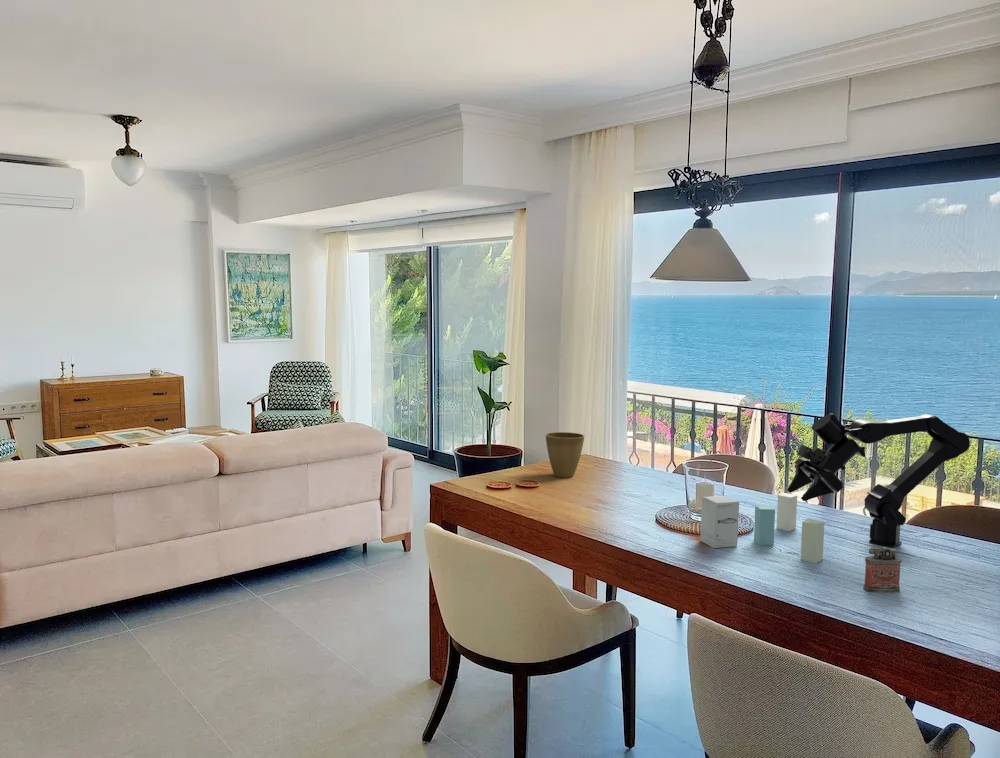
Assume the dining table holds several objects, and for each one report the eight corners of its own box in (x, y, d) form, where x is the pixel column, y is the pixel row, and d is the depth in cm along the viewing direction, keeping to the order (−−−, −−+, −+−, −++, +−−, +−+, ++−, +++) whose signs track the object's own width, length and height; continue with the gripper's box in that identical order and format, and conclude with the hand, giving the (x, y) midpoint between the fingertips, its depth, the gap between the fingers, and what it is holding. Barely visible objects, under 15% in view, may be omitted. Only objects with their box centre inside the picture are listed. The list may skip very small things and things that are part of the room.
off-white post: (795, 528, 218) (797, 495, 217) (789, 531, 215) (791, 497, 214) (782, 525, 220) (784, 492, 220) (776, 528, 218) (777, 495, 217)
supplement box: (714, 549, 198) (715, 502, 197) (699, 540, 205) (701, 496, 204) (738, 547, 200) (740, 501, 199) (723, 538, 207) (724, 494, 206)
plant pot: (586, 480, 278) (586, 438, 276) (546, 480, 277) (547, 437, 276) (581, 471, 292) (581, 431, 291) (543, 471, 292) (544, 431, 291)
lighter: (894, 587, 172) (897, 545, 171) (902, 592, 168) (905, 550, 167) (860, 587, 171) (862, 545, 170) (868, 592, 168) (870, 550, 167)
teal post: (768, 540, 206) (769, 505, 205) (773, 545, 202) (775, 509, 201) (753, 540, 206) (755, 505, 205) (759, 545, 202) (760, 509, 201)
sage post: (822, 559, 190) (824, 521, 189) (816, 563, 187) (817, 524, 186) (807, 556, 193) (809, 518, 192) (800, 559, 190) (802, 521, 189)
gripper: (803, 429, 210) (762, 467, 211) (833, 441, 192) (789, 482, 193) (829, 457, 211) (788, 494, 212) (861, 471, 193) (817, 512, 194)
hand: (795, 495), depth 203 cm, fingers open, 9 cm apart
